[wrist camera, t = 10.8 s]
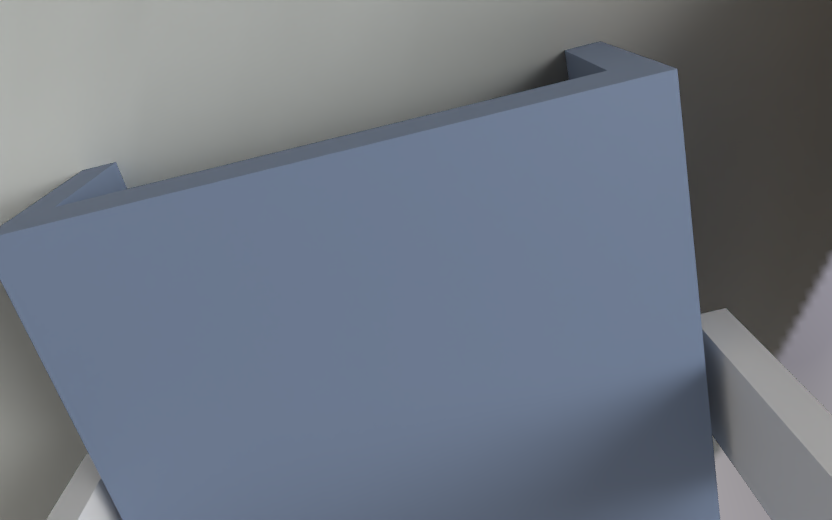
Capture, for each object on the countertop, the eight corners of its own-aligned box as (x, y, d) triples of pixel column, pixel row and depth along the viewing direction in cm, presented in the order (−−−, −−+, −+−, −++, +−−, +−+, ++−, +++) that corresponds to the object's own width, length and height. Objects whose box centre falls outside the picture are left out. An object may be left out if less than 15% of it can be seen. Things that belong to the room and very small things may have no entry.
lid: (84, 168, 16) (-20, 240, 12) (598, 40, 16) (677, 69, 12) (272, 604, 22) (244, 759, 18) (663, 521, 21) (733, 661, 17)
